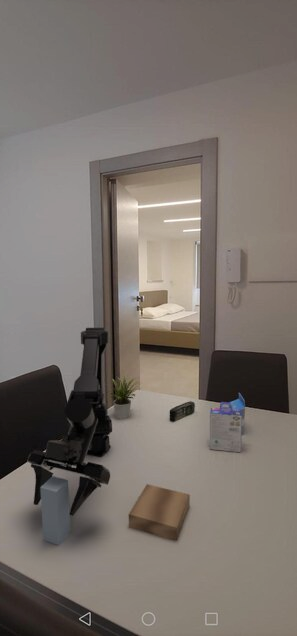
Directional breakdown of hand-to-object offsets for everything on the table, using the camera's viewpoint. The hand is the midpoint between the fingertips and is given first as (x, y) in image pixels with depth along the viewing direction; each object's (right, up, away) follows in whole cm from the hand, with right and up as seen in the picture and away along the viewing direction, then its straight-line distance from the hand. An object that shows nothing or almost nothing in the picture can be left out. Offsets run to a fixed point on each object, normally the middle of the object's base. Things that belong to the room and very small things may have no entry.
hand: (52, 510), depth 67 cm
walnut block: (+23, -6, +7) cm, 25 cm away
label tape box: (+52, 0, +49) cm, 71 cm away
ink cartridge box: (+45, -2, +37) cm, 58 cm away
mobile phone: (+34, +1, +61) cm, 69 cm away
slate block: (0, -7, +2) cm, 7 cm away
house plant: (+11, +1, +60) cm, 61 cm away
